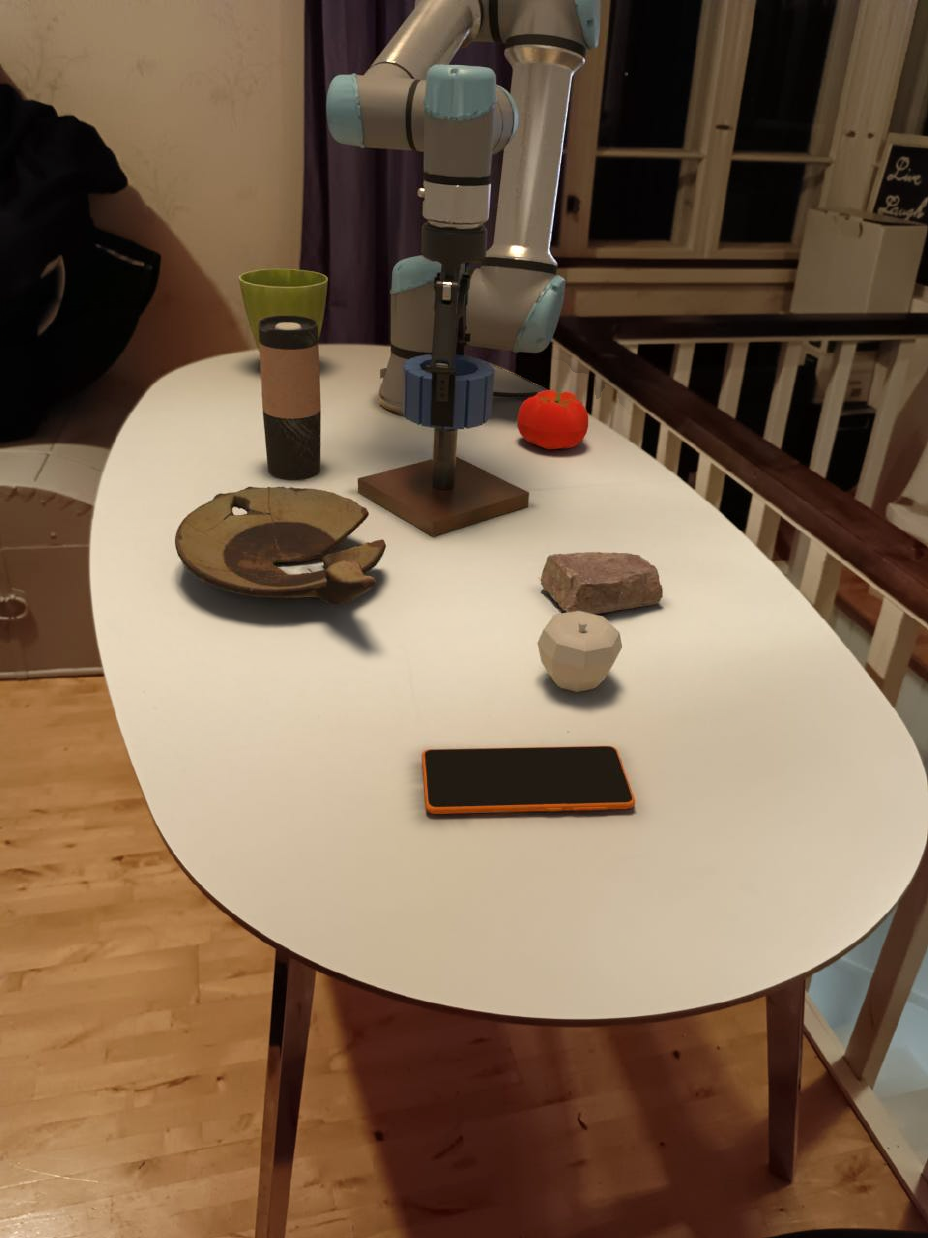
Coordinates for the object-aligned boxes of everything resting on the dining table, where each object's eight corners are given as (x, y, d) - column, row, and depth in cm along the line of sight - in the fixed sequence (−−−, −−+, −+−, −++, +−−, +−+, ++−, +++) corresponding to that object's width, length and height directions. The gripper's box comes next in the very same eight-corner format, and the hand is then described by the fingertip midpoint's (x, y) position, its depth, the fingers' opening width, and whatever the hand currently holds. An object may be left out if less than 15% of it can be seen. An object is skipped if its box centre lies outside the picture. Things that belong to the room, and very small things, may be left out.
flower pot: (227, 368, 169) (220, 274, 161) (291, 353, 179) (287, 264, 171) (283, 388, 161) (278, 291, 153) (347, 371, 171) (346, 279, 163)
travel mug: (327, 461, 135) (324, 317, 124) (314, 482, 128) (310, 332, 118) (274, 457, 135) (266, 312, 125) (259, 477, 129) (249, 327, 118)
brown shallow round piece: (361, 517, 120) (361, 459, 116) (416, 644, 95) (418, 576, 91) (176, 530, 114) (169, 470, 110) (184, 669, 89) (175, 597, 85)
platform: (451, 467, 135) (454, 398, 130) (528, 506, 125) (535, 433, 120) (357, 492, 126) (357, 419, 121) (432, 536, 116) (435, 459, 111)
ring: (452, 394, 127) (454, 348, 123) (508, 418, 120) (512, 371, 116) (385, 408, 120) (385, 361, 117) (440, 435, 113) (442, 386, 110)
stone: (625, 570, 111) (631, 533, 109) (667, 609, 104) (675, 571, 102) (534, 583, 107) (538, 546, 104) (571, 625, 100) (577, 586, 97)
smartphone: (421, 755, 80) (421, 747, 80) (614, 752, 82) (616, 744, 82) (426, 817, 74) (426, 809, 73) (636, 812, 76) (638, 804, 75)
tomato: (550, 462, 139) (555, 412, 135) (501, 438, 146) (505, 391, 142) (601, 448, 145) (608, 400, 141) (552, 426, 152) (557, 380, 148)
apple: (570, 649, 96) (577, 592, 93) (633, 683, 91) (643, 625, 88) (516, 678, 91) (522, 619, 88) (580, 716, 86) (588, 655, 83)
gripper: (434, 204, 118) (428, 377, 130) (407, 238, 98) (404, 439, 110) (494, 208, 118) (483, 381, 130) (480, 243, 98) (468, 445, 109)
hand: (447, 408), depth 120 cm, fingers closed on ring, 11 cm apart
